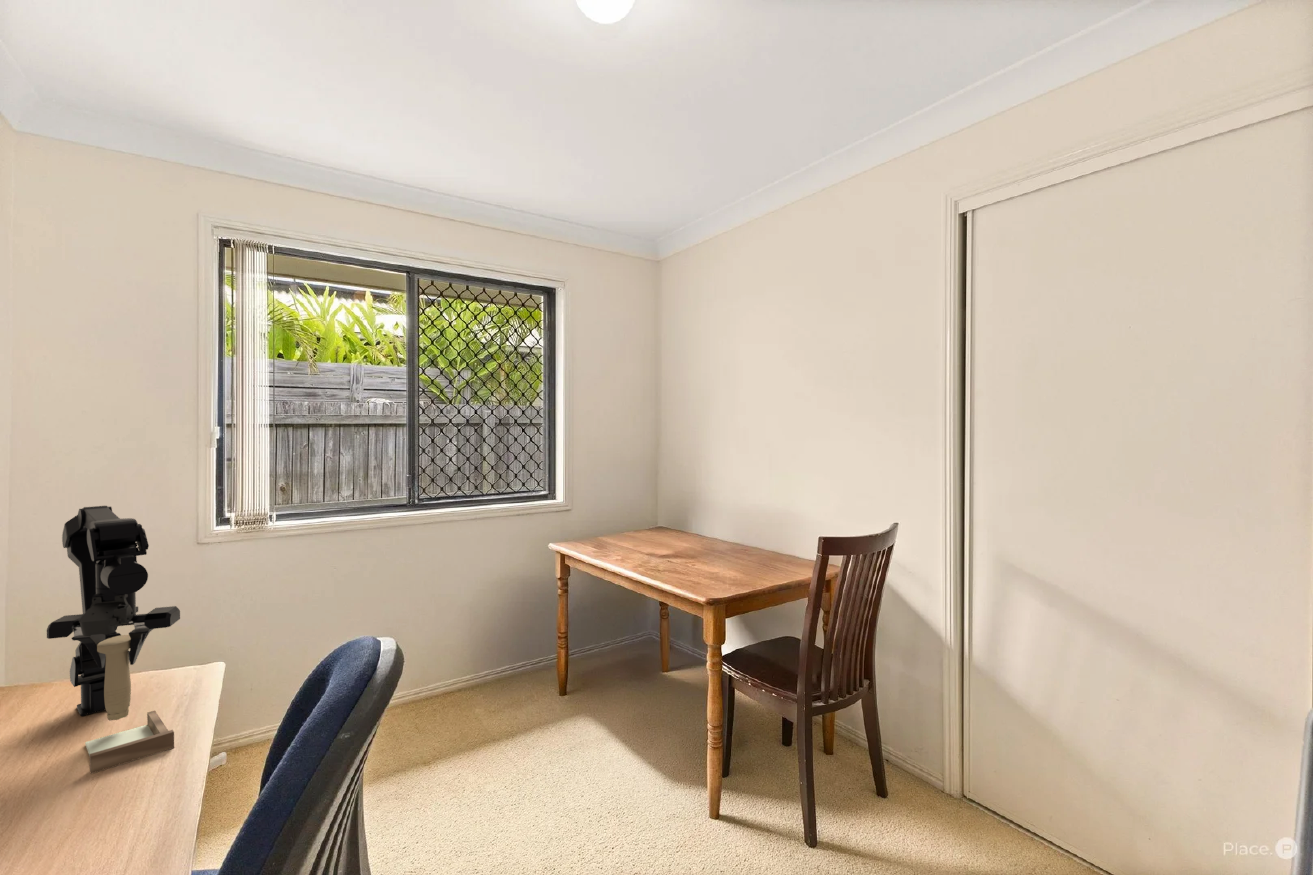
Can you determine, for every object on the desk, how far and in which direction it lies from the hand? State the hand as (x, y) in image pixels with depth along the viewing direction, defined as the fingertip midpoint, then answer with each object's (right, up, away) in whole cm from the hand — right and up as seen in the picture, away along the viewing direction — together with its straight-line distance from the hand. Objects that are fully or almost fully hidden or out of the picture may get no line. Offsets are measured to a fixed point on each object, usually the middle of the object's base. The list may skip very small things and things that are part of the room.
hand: (117, 665), depth 118 cm
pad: (+5, -13, -5) cm, 15 cm away
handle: (0, -10, 0) cm, 10 cm away
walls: (+5, -13, -5) cm, 15 cm away
